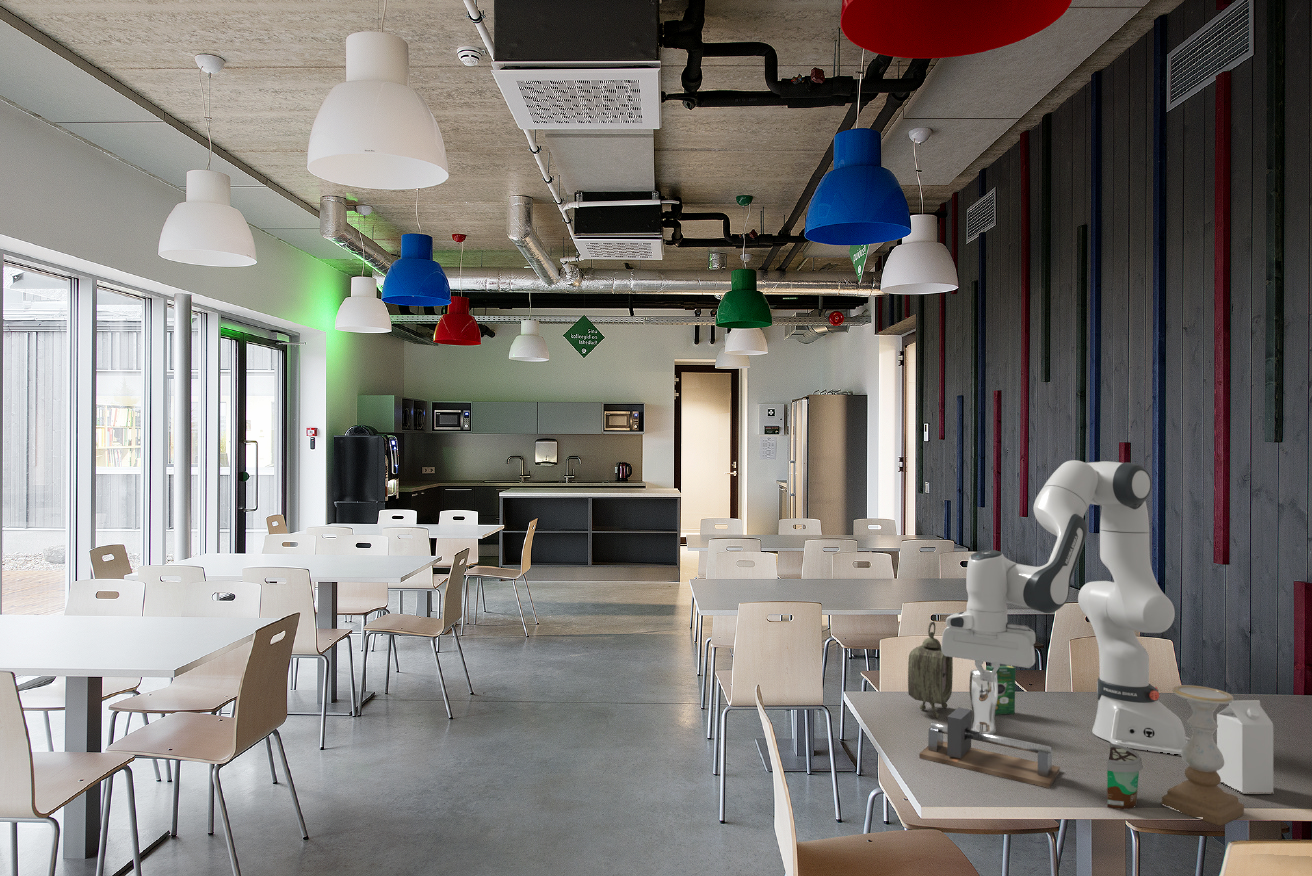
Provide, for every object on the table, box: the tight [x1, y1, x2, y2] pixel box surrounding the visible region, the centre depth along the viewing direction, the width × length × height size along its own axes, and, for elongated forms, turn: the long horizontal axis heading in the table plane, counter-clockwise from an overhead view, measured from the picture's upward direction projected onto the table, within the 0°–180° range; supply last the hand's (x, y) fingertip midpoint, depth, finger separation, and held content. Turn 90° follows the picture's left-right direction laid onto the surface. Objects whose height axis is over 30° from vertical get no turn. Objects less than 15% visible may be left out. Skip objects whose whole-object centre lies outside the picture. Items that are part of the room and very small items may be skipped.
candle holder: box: [1161, 684, 1245, 827], centre depth 163 cm, size 11×11×24 cm
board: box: [918, 740, 1061, 789], centre depth 186 cm, size 28×12×1 cm, turn 54°
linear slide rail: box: [927, 721, 1053, 777], centre depth 186 cm, size 26×5×6 cm, turn 54°
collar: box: [946, 706, 972, 759], centre depth 190 cm, size 3×9×9 cm, turn 144°
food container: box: [1106, 742, 1144, 810], centre depth 166 cm, size 12×6×10 cm, turn 148°
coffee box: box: [985, 665, 1017, 716], centre depth 224 cm, size 8×3×13 cm, turn 103°
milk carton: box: [1216, 699, 1274, 793], centre depth 175 cm, size 7×7×19 cm
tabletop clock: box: [907, 621, 954, 719], centre depth 225 cm, size 14×9×25 cm, turn 148°
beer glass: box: [968, 668, 998, 735], centre depth 209 cm, size 7×7×15 cm
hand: (987, 680), depth 187 cm, fingers closed
